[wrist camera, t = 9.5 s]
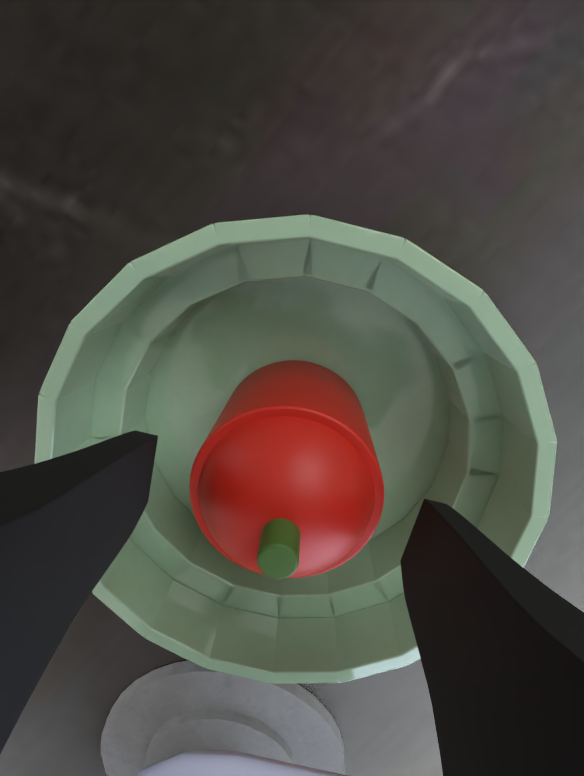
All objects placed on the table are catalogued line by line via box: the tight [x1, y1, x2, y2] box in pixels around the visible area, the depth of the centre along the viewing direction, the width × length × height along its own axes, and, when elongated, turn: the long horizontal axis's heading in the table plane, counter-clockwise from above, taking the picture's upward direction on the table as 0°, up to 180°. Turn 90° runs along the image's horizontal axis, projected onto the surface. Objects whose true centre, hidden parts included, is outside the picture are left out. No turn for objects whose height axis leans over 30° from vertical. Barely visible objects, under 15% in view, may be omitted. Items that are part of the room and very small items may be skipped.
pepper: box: [189, 360, 385, 579], centre depth 13 cm, size 5×5×7 cm
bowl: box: [34, 214, 557, 684], centre depth 14 cm, size 14×14×5 cm
